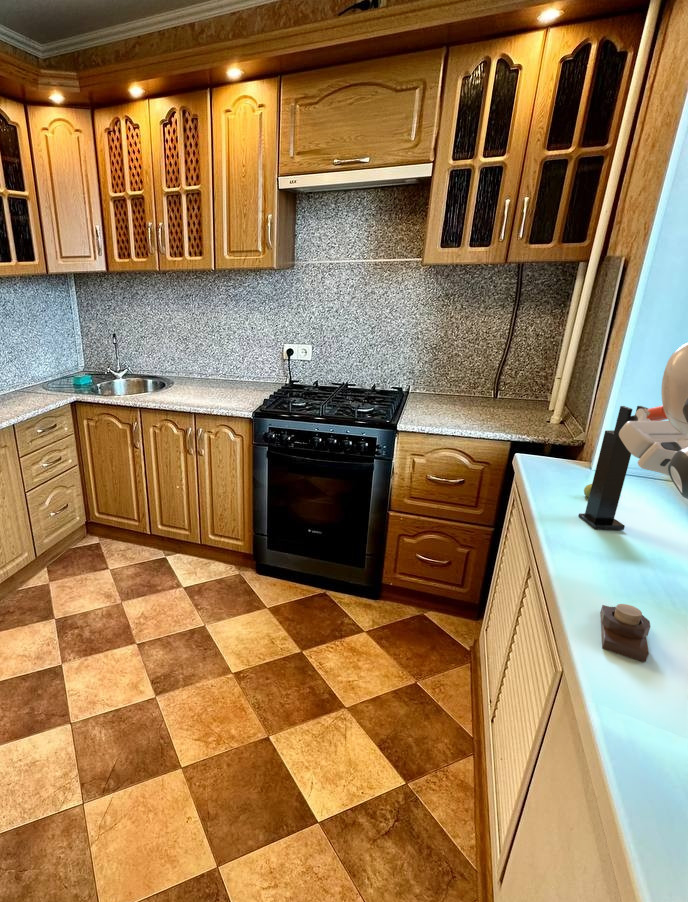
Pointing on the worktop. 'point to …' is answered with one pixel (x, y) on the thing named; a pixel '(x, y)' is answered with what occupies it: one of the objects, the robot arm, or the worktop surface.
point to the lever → (653, 414)
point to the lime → (587, 490)
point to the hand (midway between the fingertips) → (658, 410)
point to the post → (609, 478)
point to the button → (627, 614)
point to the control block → (624, 635)
